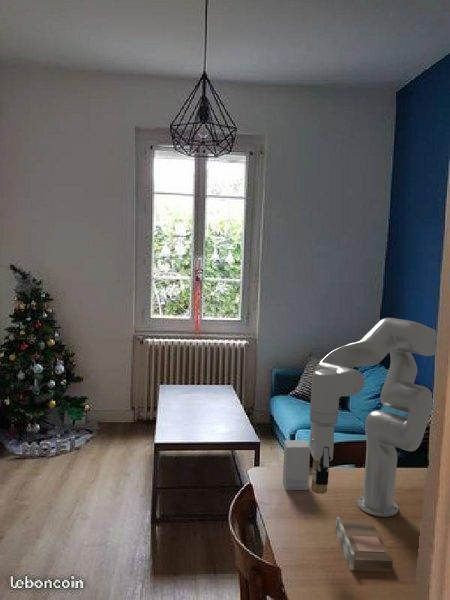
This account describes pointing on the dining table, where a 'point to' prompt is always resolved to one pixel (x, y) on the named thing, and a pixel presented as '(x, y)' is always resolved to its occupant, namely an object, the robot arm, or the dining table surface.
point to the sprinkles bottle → (315, 488)
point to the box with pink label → (363, 546)
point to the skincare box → (296, 465)
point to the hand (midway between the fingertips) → (319, 479)
